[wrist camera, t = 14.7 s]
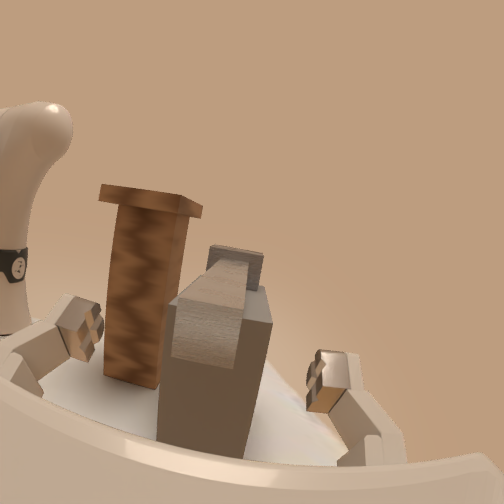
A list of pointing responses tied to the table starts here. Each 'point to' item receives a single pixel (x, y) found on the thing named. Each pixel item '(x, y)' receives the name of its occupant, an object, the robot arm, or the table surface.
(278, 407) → the table surface
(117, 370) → the brown wooden post
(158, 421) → the pedestal
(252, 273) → the link bar
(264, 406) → the table surface
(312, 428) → the table surface
